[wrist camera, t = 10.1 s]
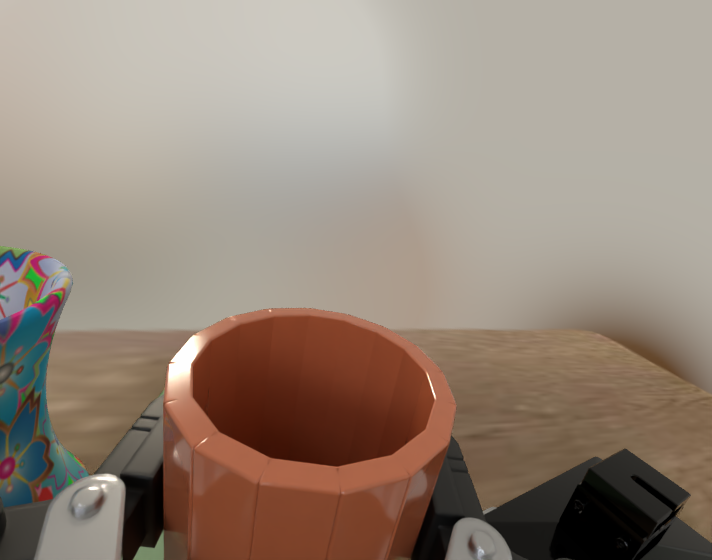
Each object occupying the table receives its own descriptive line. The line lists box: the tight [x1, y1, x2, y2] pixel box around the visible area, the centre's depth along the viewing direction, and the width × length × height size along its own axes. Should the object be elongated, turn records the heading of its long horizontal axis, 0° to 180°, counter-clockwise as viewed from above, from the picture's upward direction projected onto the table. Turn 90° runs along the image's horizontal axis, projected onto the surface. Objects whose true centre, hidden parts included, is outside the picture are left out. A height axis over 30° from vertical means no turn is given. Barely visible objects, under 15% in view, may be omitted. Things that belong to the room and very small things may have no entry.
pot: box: [163, 308, 457, 560], centre depth 10 cm, size 6×6×10 cm
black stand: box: [483, 449, 712, 560], centre depth 18 cm, size 12×7×5 cm, turn 119°
